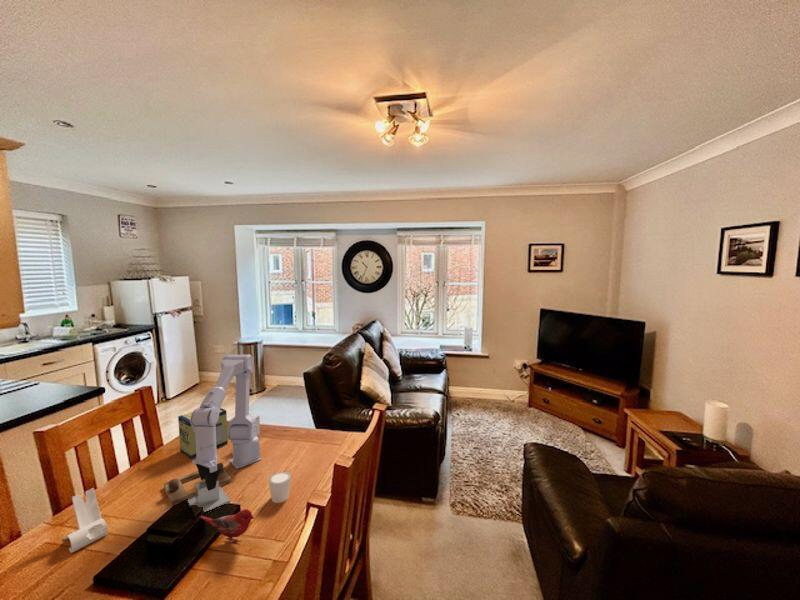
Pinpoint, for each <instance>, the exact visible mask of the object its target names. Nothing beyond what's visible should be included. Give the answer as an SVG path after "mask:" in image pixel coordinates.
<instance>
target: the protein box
mask: <svg viewBox="0 0 800 600" xmlns="http://www.w3.org/2000/svg"><path fill="white" fill-rule="evenodd" d="M192 413H193V411H191V412H188V413H185V414H181V415H178V416H177V420H178V436H179V451H180V452H181V453H182V454H183V455H185V456H186V457H188V459H192V460H193V459H195V458H196V437H195V432H194V431H193V427H192V425H191V424H190V420H191V415H192ZM227 413H228V412H227V410H226V409H223V408H221V407H220V413H219V419H218V421H217V423H216V424H215V426H216V448H217V449H218V447H219V448H220V446H221V447H223V446H226V445H228V444H229V439H228V437H227V430H228V419H227V418H228V417H227ZM227 443H228V444H227ZM225 444H226V445H225Z"/></svg>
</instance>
